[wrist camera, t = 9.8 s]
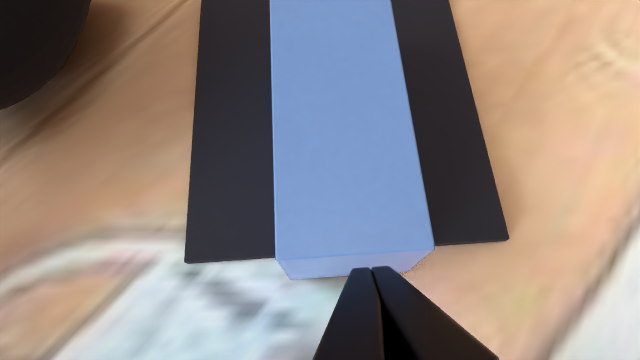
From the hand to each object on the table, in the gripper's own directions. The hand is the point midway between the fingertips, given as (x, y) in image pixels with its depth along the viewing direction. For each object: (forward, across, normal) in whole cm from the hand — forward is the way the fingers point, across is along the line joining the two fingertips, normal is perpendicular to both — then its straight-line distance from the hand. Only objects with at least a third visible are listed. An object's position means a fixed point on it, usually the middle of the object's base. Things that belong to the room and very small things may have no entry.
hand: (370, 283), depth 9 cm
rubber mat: (+13, 0, -2) cm, 13 cm away
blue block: (+5, 0, +3) cm, 5 cm away
